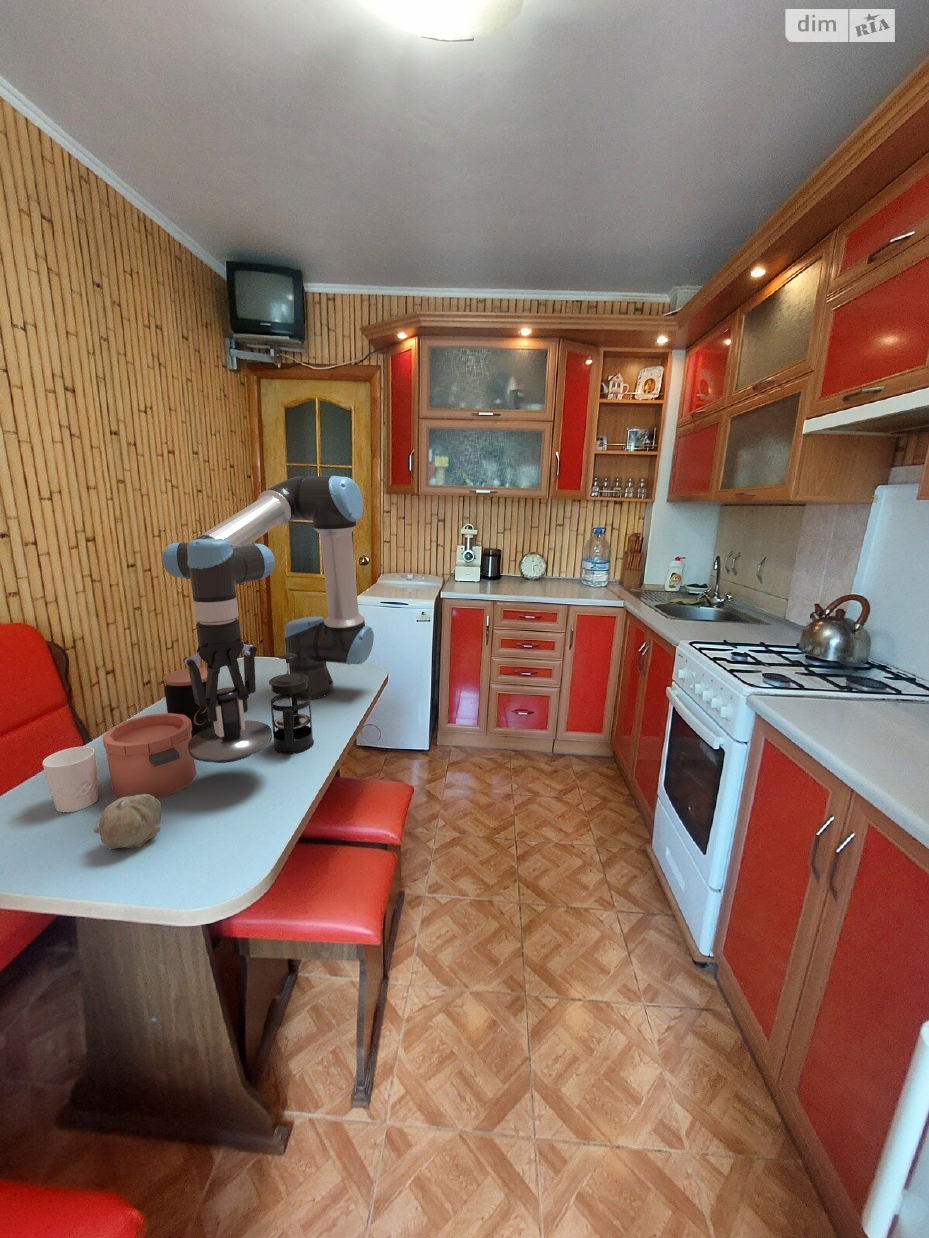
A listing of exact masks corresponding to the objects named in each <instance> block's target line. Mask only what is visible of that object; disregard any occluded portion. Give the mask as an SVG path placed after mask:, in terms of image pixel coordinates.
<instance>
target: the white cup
mask: <svg viewBox="0 0 929 1238" xmlns="http://www.w3.org/2000/svg"><path fill="white" fill-rule="evenodd" d="M97 766H98V765H97V759H96V750H95V749H94V747H91V746H76V747H75V746H74V747H70V748H65V749H61V750H59V751H56V752H54V753H52V754H50V755H48V756H47V757H46V758H44V759H43V761H42V767H43V770H44V774H45V778H46V782H47V785H48V788H49V792H50V795H51V796H50V797H51V798H52V800H53V804H54V808H55V810H56V812H58V813H62V812H63V814H64V812H67V813H74V812H78V811H81V810H84V809H86V808H88V807H90V806H92V805H93V804H95V803H96V802H97V801H98V800H99V797H100V794H99V787H98V785H99V780H98V769H97V768H98V767H97Z"/></svg>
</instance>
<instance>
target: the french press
mask: <svg viewBox="0 0 929 1238" xmlns="http://www.w3.org/2000/svg"><path fill="white" fill-rule="evenodd" d="M295 657H297V655H296V654H293V653H286V652H285V653H282V654H280V655H278V659H280V660H285V664H286V668H287V667H288V674H286V673H285V674H279V675H276V676H274V677H271V678H270V679H269V681H268V684H269V685H270V686H271V692H272V693H274V694H277V695H275V696H273V697H272V698H271V699H270V710H271V711H270V712H271V725H272V739H273V745H272V746H273V747H272V749H273V751H275V752H276V753H277V754H280V753H282V754H281V755H294V754H293V753H296V754H300V753H303V752H305V750H306V751H308V750H309V749H311V748H312V747H313V746H314V745H315V740H314V737H313V723H312V720H313V719H312V705H311V699H310V695H308V694H306V693H302V692H301V691H304V690H305V689H307V687H308V685H307V682H308V681H309V677H308V676H307V675H304V674H298V673H292V674H290V672H289V663H290V659H292V658H295ZM297 697H301V698H306V699H308V700H305V701H304V702H302V703H298V701H299V700H297ZM289 698H290V699H289ZM284 699H289V704H290V705H277V704H274V703H277V702H278V701H281V700H284ZM307 707H308V708H309V709H308V711H309V712H308V713H309V715H308V714H304V713H299V711H301V710H302V709H305V708H307ZM275 711H276V712H281V713H282V715H281V716H279V717H277V718H275V713H274V712H275ZM276 729H277V730H276ZM295 738H298V739H295ZM310 747H311V748H310ZM307 749H308V750H307Z"/></svg>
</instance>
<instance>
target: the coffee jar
mask: <svg viewBox="0 0 929 1238" xmlns="http://www.w3.org/2000/svg"><path fill="white" fill-rule="evenodd" d="M198 668H199V670H200V674H201V679H202V684H203V690H204V695H205V697H206V684H207V667H205V666H204V667H203V666H201V667H200V666H198ZM162 679H163V683H164V684H165V686H164V695H165V702H166V704H165V705H166V713H174V714H182V715H185V716H187V717H188V718H189V719H190V720H191V724H192V731H191V734H192V737H194V736H195V735H196V734H198V733H199V732H201V731H203V730H205V729H207V728H210V727H212V726H214V722H211V721H210V720H209V719H208V714H207V707H200V706H199V705H198V704H196V703H195V699H194V694H193V689H192V684H191V679H190V674H189V669H188V668H187V667H186V668H182V669H177V670H174V671H171V672H169V673H166V674H165V675H164V676H163V677H162ZM216 703H217V701H216Z"/></svg>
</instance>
